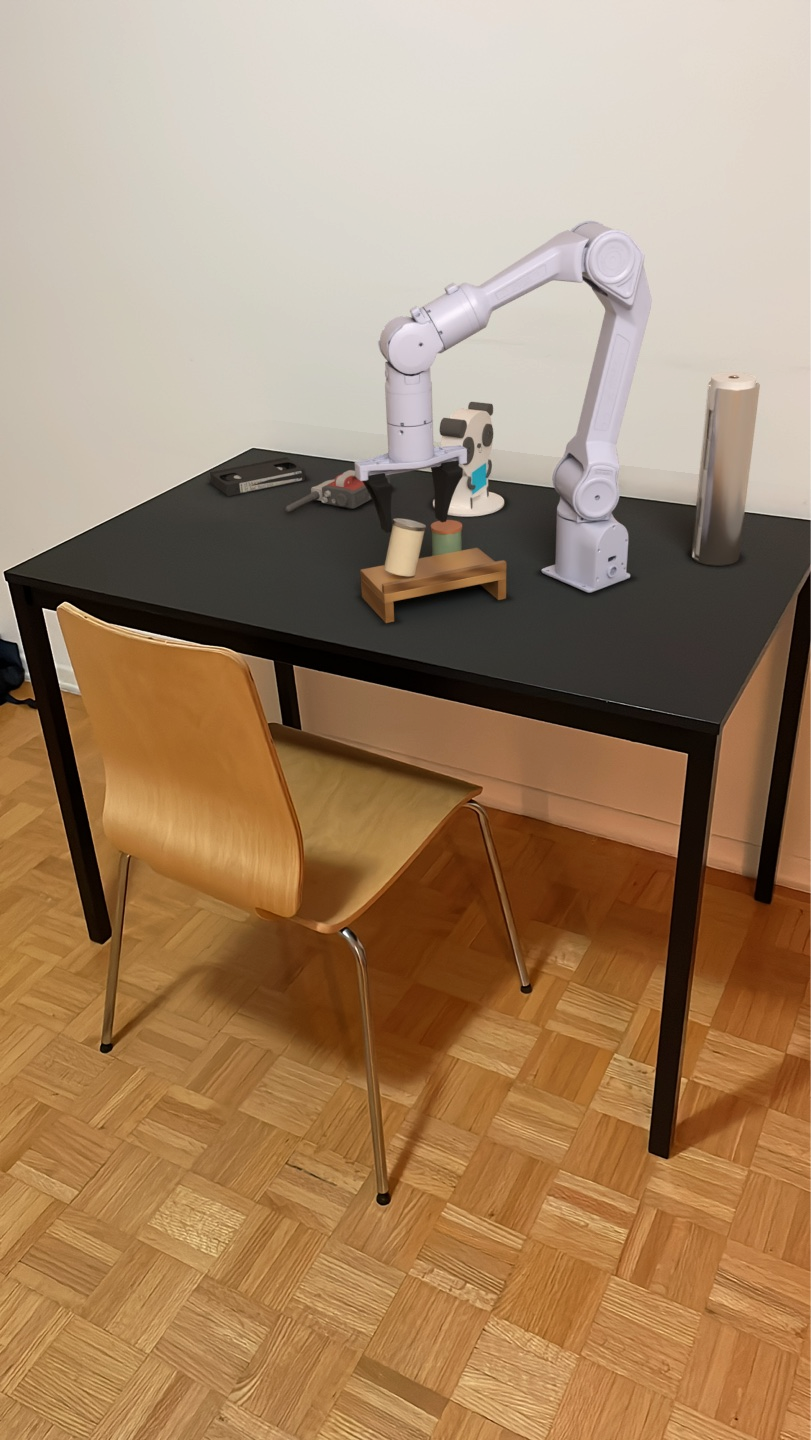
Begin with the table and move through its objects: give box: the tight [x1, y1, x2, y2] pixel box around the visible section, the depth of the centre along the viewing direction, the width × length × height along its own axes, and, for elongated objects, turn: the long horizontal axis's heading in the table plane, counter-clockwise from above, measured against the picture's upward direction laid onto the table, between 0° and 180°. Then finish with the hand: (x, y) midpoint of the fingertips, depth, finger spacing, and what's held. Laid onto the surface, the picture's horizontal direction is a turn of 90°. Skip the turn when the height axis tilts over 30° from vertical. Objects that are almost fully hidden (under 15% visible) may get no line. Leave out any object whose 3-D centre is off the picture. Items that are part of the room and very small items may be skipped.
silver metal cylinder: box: [690, 371, 761, 567], centre depth 152 cm, size 6×6×25 cm
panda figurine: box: [432, 401, 505, 517], centre depth 177 cm, size 12×11×15 cm
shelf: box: [359, 547, 507, 624], centre depth 149 cm, size 17×9×5 cm, turn 112°
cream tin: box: [384, 517, 427, 577], centre depth 146 cm, size 4×4×6 cm
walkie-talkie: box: [285, 469, 391, 513], centre depth 183 cm, size 9×4×20 cm
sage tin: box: [430, 519, 463, 556], centre depth 157 cm, size 4×4×6 cm
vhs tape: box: [209, 457, 306, 497], centre depth 194 cm, size 14×8×2 cm, turn 119°
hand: (413, 524), depth 147 cm, fingers open, 7 cm apart
